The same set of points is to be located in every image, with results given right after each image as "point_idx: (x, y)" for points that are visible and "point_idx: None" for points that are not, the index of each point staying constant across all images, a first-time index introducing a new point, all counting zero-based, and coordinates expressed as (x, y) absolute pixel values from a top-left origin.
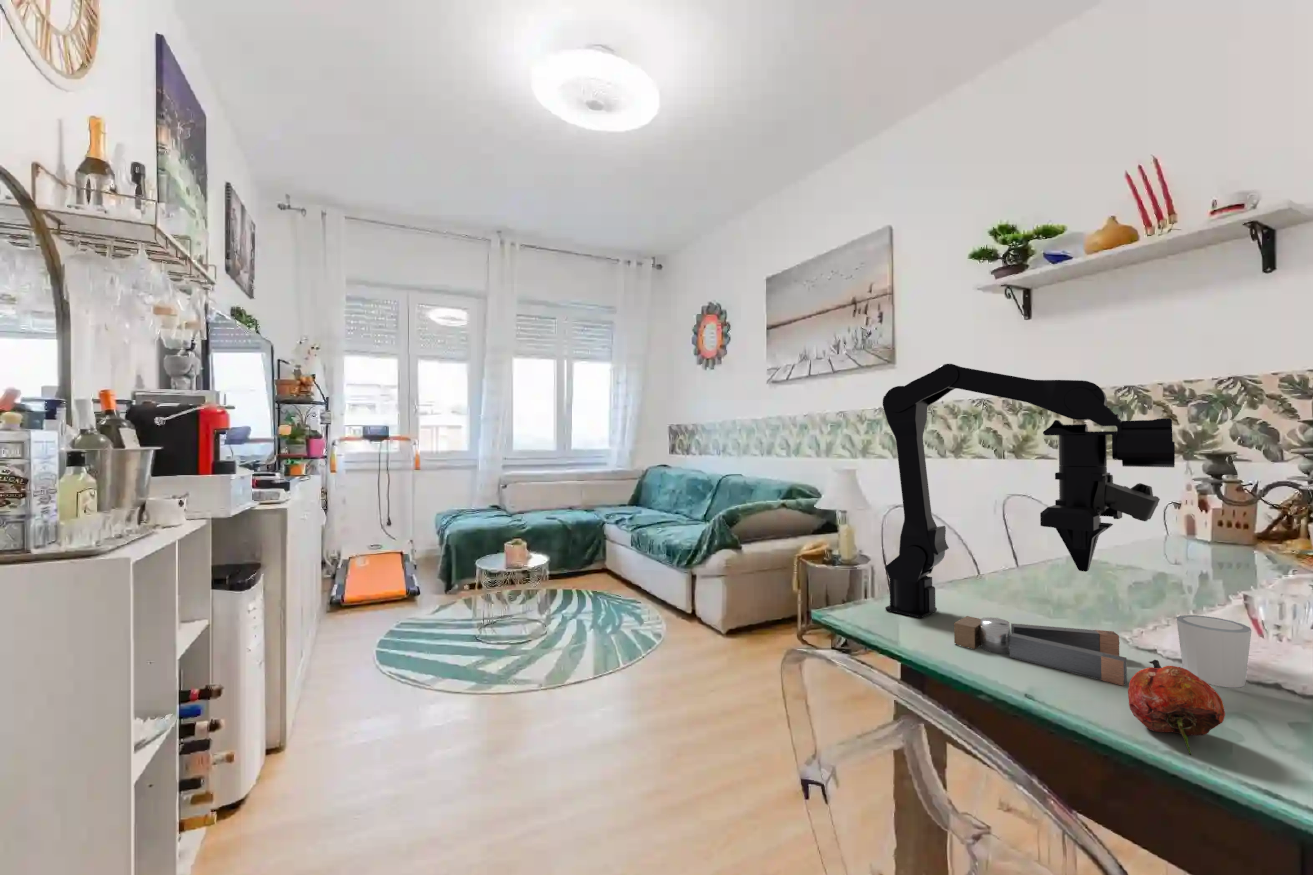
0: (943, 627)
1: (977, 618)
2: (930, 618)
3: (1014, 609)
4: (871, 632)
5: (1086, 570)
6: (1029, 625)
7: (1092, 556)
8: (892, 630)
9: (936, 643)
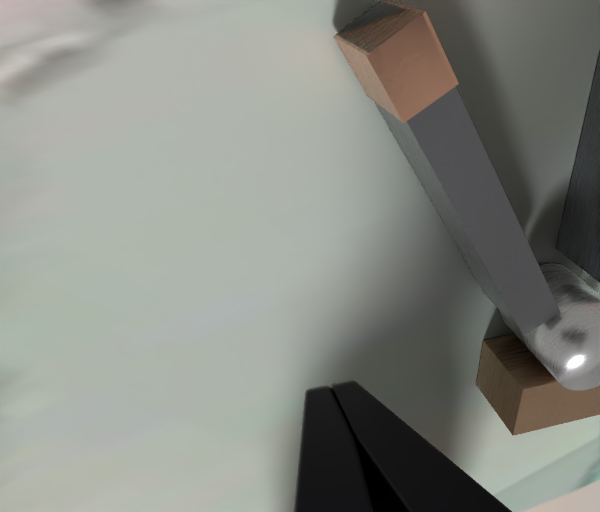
0: None
1: (522, 409)
2: None
3: (28, 481)
4: (583, 484)
5: (358, 385)
6: (509, 294)
7: (308, 487)
8: (541, 478)
9: None
